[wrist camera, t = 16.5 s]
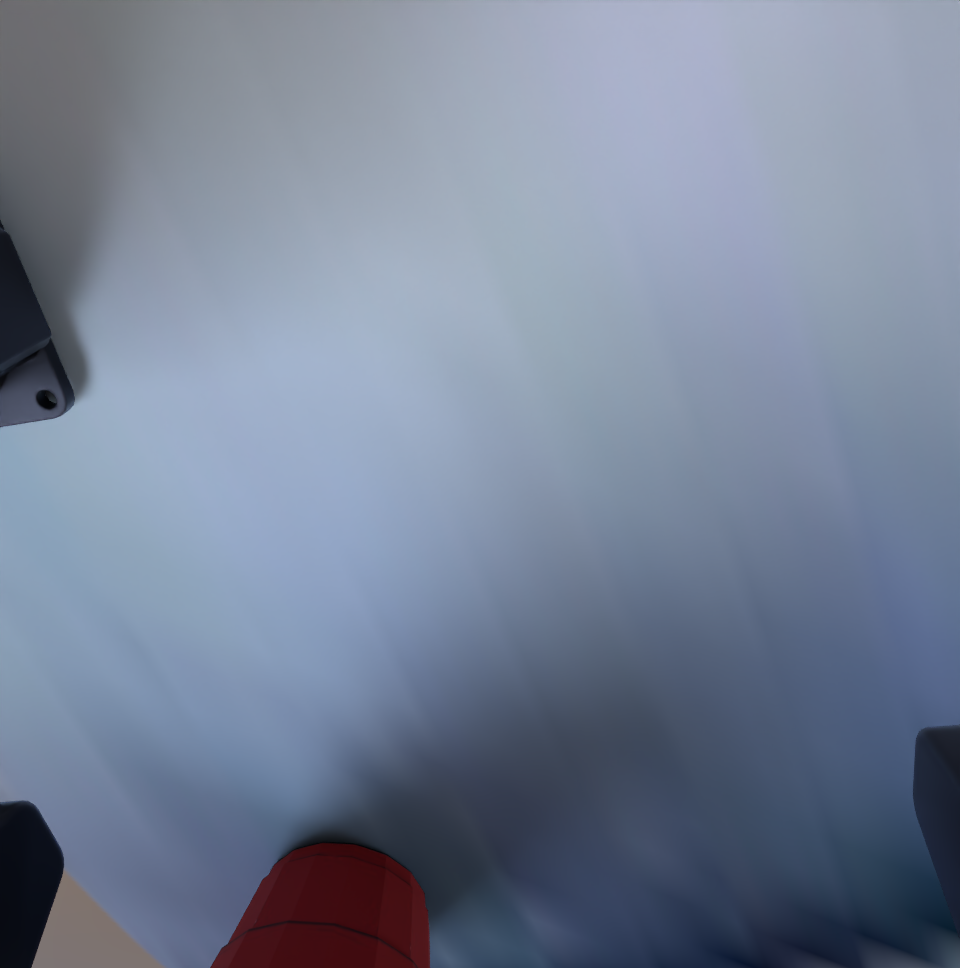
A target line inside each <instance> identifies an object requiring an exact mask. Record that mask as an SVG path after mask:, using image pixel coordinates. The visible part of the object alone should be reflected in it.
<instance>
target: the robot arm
mask: <svg viewBox="0 0 960 968" xmlns="http://www.w3.org/2000/svg"><path fill="white" fill-rule="evenodd" d="M50 337H51V331H50V329H49V327H48V324H47V322H46V319H45V317H44V315H43V312H42V310H41V308H40V305H39V303H38V301H37V298H36V296H35V294H34V291H33V289H32V287H31V284H30V282H29V279H28V277H27V275H26V272H25V270H24V268H23V265H22V263H21V261H20V258H19V256H18V254H17V251H16V249H15V247H14V244H13V242H12V239H11V237H10V235H9V234H8V233H7V232H6V231H5V230H4V227H3V225H2V223H1V220H0V427H3V426H9V425H16V424H22V423H28V422H34V421H41V420H47V419H53V418H57V417H59V416H61V415H63V414H64V413H66V412H67V411H68V410H70V408H71V407H72V406H73V405H74V400H75V396H74V392H73V389H72V387H71V384H70V382H69V380H68V377H67V375H66V373H65V370H64V368H63V366H62V363H61V361H60V359H59V356H58V354H57V352H56V349H55V347H54V345H53V342H52V340H51V338H50ZM45 390H48V391H50V392H51V393H53V394H54V396H55V397H56V400H57V403H53V402H52V401H50V400H49V399H48V398H47V396H46V394H45ZM913 800H914V806H915V811H916V815H917V818H918V821H919V824H920V827H921V830H922V833H923V836H924V839H925V841H926V844H927V847H928V850H929V853H930V856H931V859H932V861H933V864H934V867H935V870H936V873H937V876H938V878H939V881H940V884H941V887H942V890H943V893H944V896H945V898H946V901H947V904H948V907H949V910H950V913H951V915H952V918H953V921H954V924H955V927H956V930H957V933H958V935H959V938H960V725H952V726H939V727H927V728H924V729H921V730H920V731H919V733H918V735H917V738H916V745H915V763H914V780H913ZM63 868H64V857H63V853H62V850H61V848H60V846H59V844H58V843H57V841H56V839H55V838H54V836H53V834H52V832H51V831H50V829H49V827H48V825H47V824H46V822H45V820H44V819H43V817H42V815H41V813H40V812H39V810H38V809H37V807H36V806H35V805H34V804H32V803H31V802H29V801H10V802H0V968H31V967H32V964H33V961H34V958H35V955H36V952H37V949H38V946H39V943H40V940H41V937H42V934H43V931H44V928H45V925H46V923H47V920H48V916H49V914H50V911H51V907H52V905H53V902H54V899H55V896H56V893H57V890H58V887H59V884H60V881H61V878H62V874H63Z"/></svg>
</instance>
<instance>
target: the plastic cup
mask: <svg viewBox="0 0 960 968" xmlns="http://www.w3.org/2000/svg"><path fill="white" fill-rule="evenodd" d="M211 968H430V943H429V920H428V910H427V908H426V907H425V893H424V892H423V890H422V889H421V887H420V886H419V884H418V882H417V881H416V879H415V878H414V876H413V875H412V873H411V872H410V871H408V870H407V869H405V868H404V867H403V866H401V865H400V864H398V863H397V862H396V861H394V860H393V859H391V858H390V857H389V856H387V855H385V854H382V853H379V852H376V851H373V850H370V849H367V848H364V847H361V846H358V845H353V844H335V843H320V844H316V845H312V846H308V847H304V848H300V849H296V850H293V851H292V852H291V853H289V854H288V855H287V856H285V857H284V858H283V859H281V860H280V861H279V862H277V863H276V864H275V865H274V866H273V868H272V870H271V872H270V873H269V875H268V876H266V877H265V878H264V879H263V880H262V882H261V884H260V886H259V887H258V889H257V891H256V893H255V895H254V897H253V898H252V900H251V902H250V904H249V906H248V908H247V909H246V911H245V913H244V915H243V917H242V919H241V920H240V922H239V924H238V926H237V928H236V930H235V932H234V933H233V935H232V937H231V939H230V941H229V943H228V944H227V945H225V946H224V947H223V948H222V949H221V950H220V952H219V954H218V955H217V957H216V959H215V961H214V962H213V964H212V966H211Z"/></svg>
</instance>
